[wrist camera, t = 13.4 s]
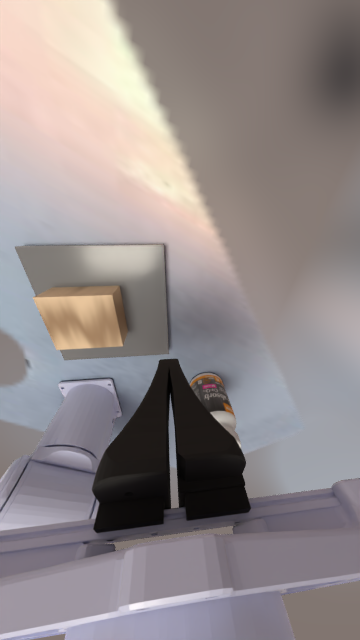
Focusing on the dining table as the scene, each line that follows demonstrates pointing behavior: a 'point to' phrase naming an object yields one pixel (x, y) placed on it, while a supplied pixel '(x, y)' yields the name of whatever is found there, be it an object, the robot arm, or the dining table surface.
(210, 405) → the pill bottle
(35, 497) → the robot arm
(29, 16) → the dining table surface
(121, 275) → the board
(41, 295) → the block
